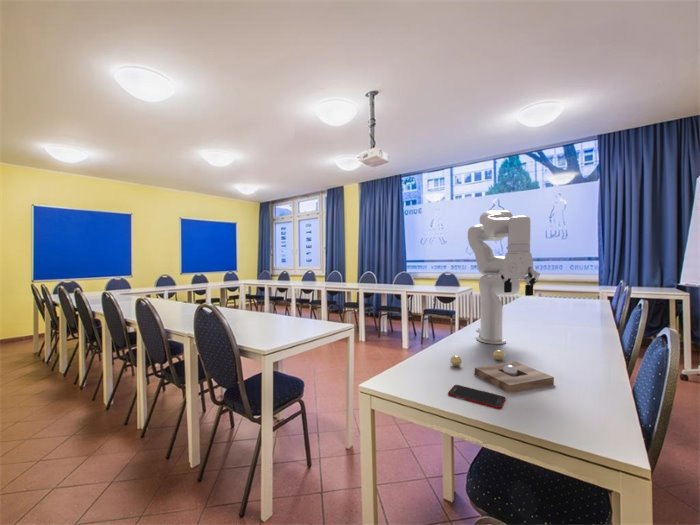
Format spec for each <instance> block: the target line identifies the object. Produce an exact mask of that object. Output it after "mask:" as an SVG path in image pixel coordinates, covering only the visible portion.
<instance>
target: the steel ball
mask: <svg viewBox="0 0 700 525" xmlns="http://www.w3.org/2000/svg"><path fill="white" fill-rule="evenodd" d="M503 373H505V374H507V375H509V376H512V377H517V375H518V371H517V369H516V368H515V367H514V366H512V365H506V366H504V368H503Z"/></svg>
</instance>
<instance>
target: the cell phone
mask: <svg viewBox="0 0 700 525" xmlns="http://www.w3.org/2000/svg"><path fill="white" fill-rule="evenodd" d="M447 395H448V396H449V397H452V398H456V399H461V400H464V401H467V402H470V403H474V404H478V405H481V406H486V407H488V408H493V409H497V410H502V409H503V406H504V404H505V402H506V400H507V399H506V398H507V397H506V396H504V395H500V394H495V393H493V392H488V391H484V390H481V389H476V388H472V387H469V386H464V385H461V384H460V385H459V384H454V385H453V386H452V387H451V389H450V390H448V392H447Z"/></svg>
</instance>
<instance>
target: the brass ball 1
mask: <svg viewBox="0 0 700 525" xmlns="http://www.w3.org/2000/svg"><path fill="white" fill-rule="evenodd" d="M462 360H463V359H462V358H461V357H460V356H459V355H453V356H452V357H450V363H451V365H452V366H453V367H455V368H458V367H460V366H462V365H463V364H462V363H463V361H462Z"/></svg>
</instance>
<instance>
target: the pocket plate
mask: <svg viewBox="0 0 700 525" xmlns="http://www.w3.org/2000/svg"><path fill="white" fill-rule="evenodd" d="M506 365H512V366H514V367H515V368H516V369H517V371H518V375H517V377H512V376H509V375H507V374H505V373H503V368H504V366H506ZM474 376H476V377H478V378H480V379H482V380H484V381H486V382H488V383H489V384H491V385H493V386H495V387H497V388H498V389H501V390H502V391H504V392H506V393H509V394H513V393H514V394H515V393H519V392H525V391H528V390H529V391H531V390H534V389H539V388H540V389H541V388H544V387H551V386H554V385H555V377H554V376H552V375H550V374H548V373H545V372H542V371H540V370H537V369H535V368H532V367H530V366H527V365H525V364H522V363H520V362H518V361H510V362H509V361H508V362H502V363H496V364H490V365H483V366H476V367H474Z"/></svg>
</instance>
